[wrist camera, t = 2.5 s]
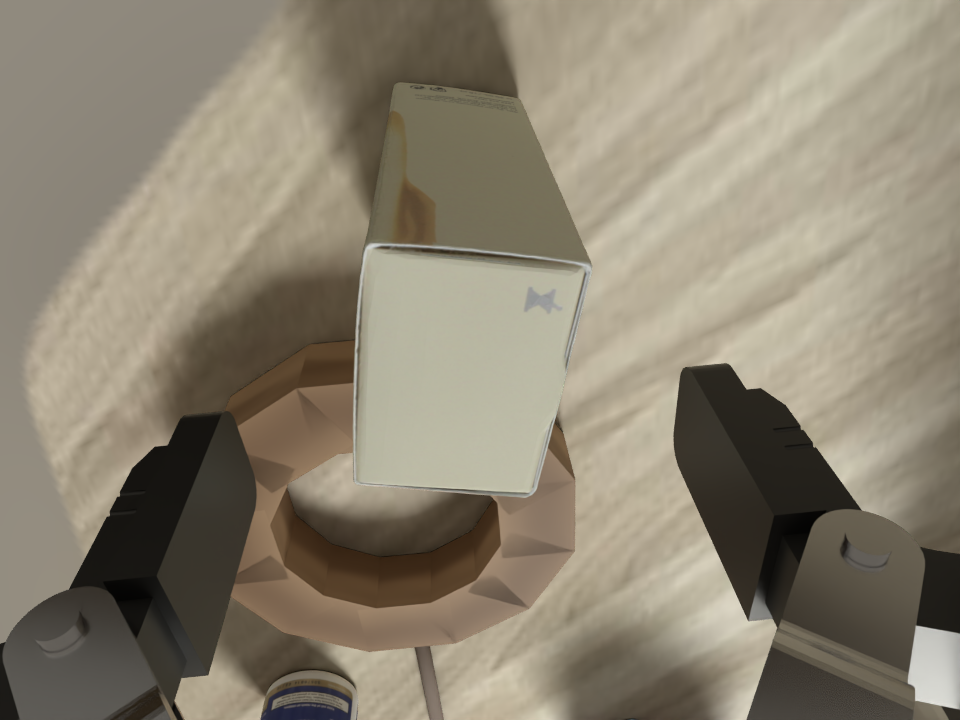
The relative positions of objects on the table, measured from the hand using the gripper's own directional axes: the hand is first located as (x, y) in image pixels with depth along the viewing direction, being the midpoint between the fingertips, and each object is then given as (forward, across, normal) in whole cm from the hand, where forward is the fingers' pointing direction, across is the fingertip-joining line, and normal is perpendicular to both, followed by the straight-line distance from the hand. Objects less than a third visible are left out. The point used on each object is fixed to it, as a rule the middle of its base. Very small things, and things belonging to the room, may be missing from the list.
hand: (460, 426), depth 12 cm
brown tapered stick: (+14, +4, +29) cm, 32 cm away
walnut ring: (+14, +4, +14) cm, 20 cm away
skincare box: (+14, 0, 0) cm, 14 cm away
